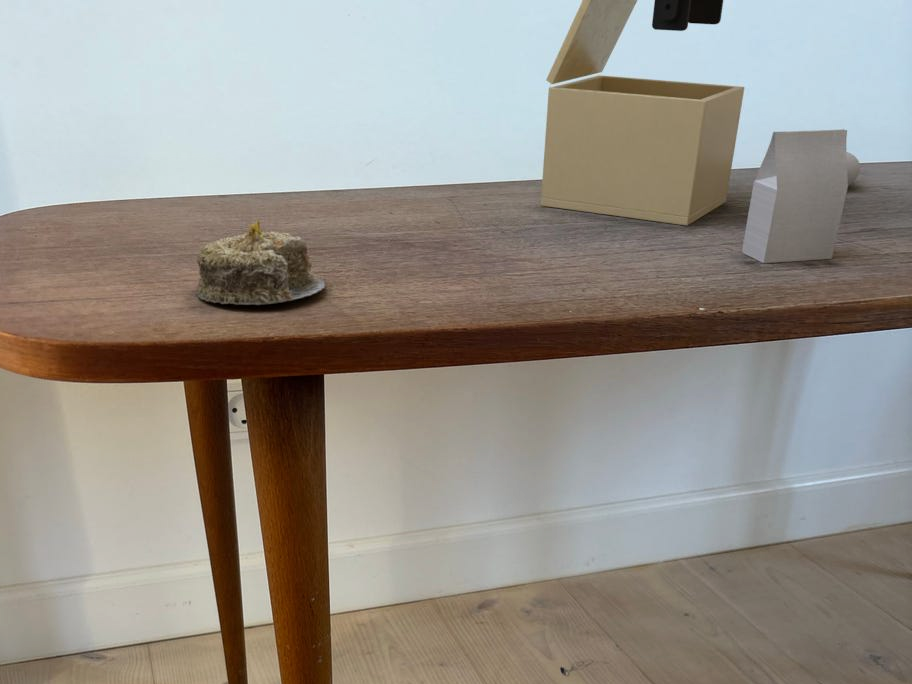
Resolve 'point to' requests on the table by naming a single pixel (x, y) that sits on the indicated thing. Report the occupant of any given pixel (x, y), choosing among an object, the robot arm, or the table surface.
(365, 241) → the table surface
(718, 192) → the tan open box
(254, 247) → the cake
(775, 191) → the grey upright tapered block
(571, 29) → the box lid
